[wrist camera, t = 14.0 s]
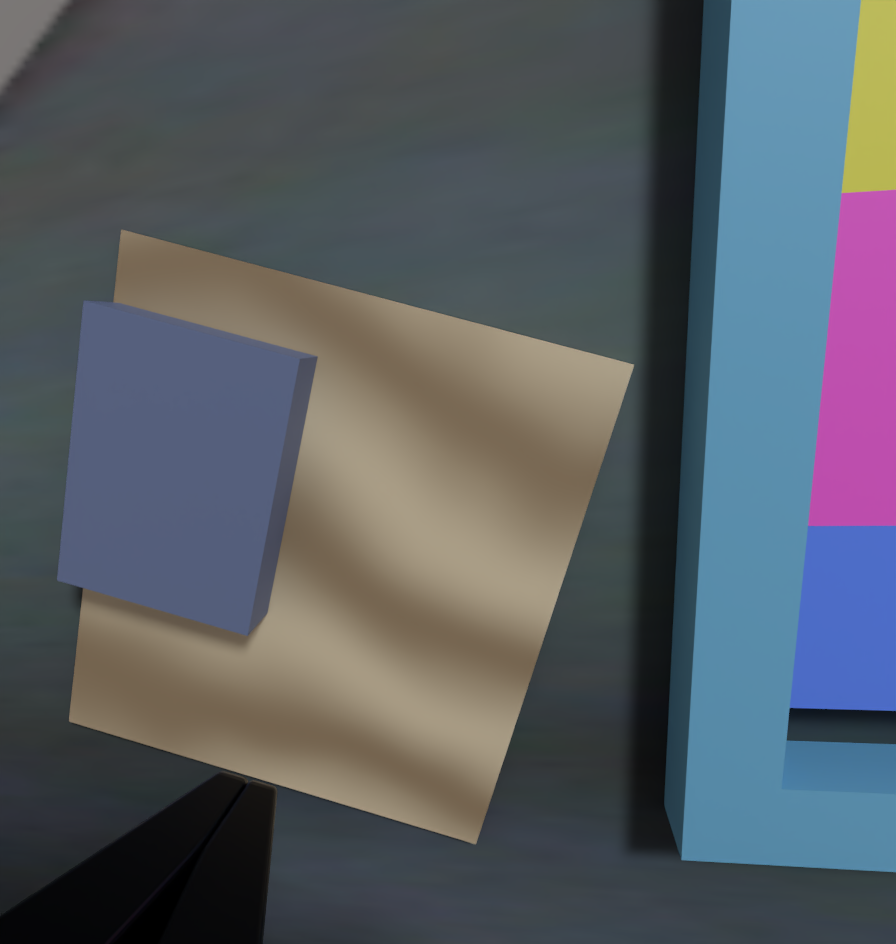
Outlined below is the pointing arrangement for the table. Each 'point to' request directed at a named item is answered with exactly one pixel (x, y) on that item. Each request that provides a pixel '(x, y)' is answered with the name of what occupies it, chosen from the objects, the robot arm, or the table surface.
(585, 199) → the table surface
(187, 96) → the table surface
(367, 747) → the wooden mat
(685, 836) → the tetris game
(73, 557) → the card deck
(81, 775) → the table surface
